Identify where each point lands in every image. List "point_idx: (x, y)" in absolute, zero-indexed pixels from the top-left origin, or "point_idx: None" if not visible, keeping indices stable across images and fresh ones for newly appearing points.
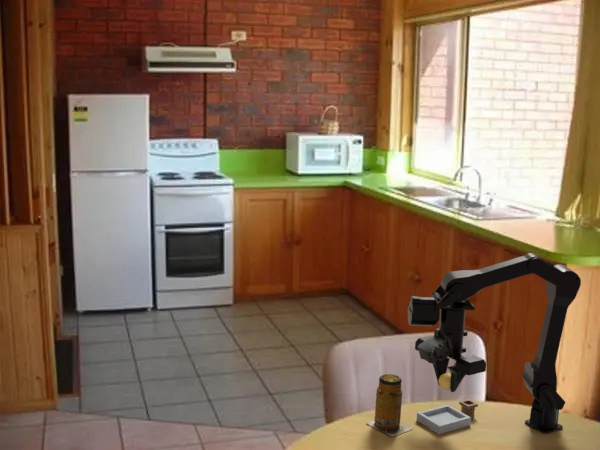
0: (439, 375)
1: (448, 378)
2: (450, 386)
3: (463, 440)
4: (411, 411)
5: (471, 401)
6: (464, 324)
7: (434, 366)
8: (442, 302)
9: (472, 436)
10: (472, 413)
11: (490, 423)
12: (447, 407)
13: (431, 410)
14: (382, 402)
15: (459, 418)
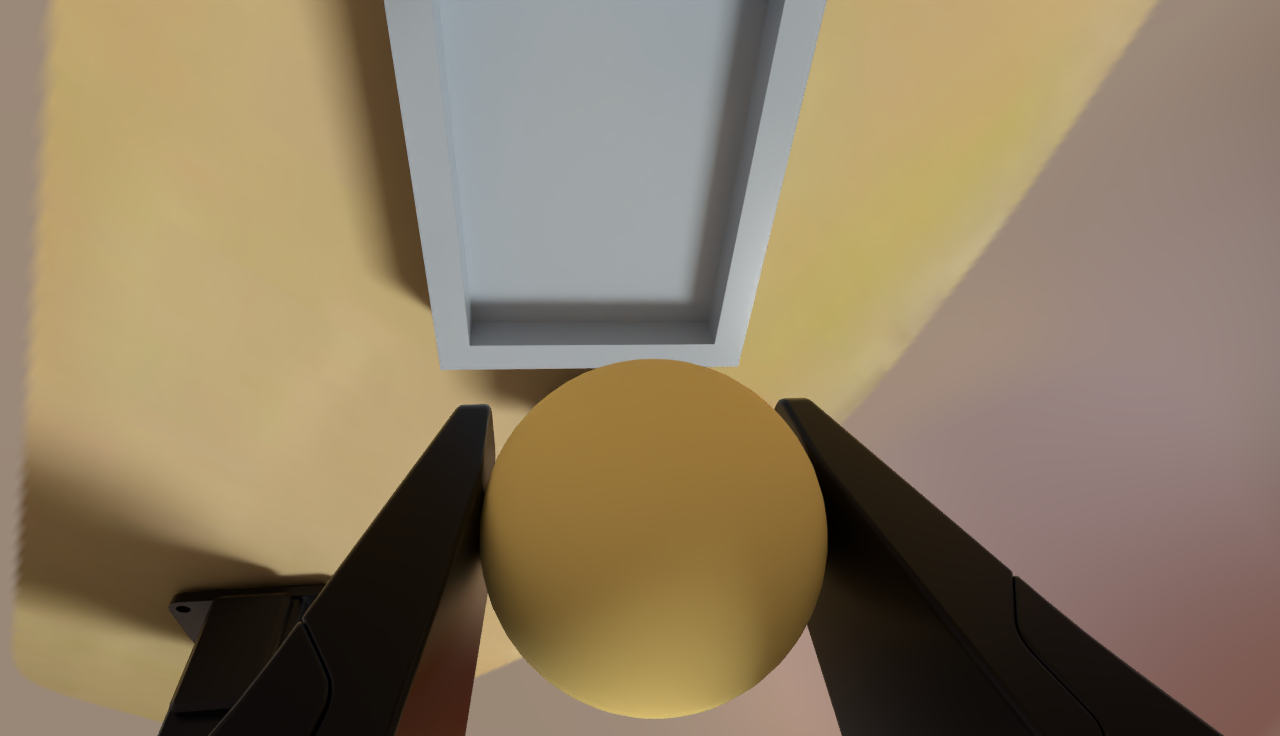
0: (860, 549)
1: (552, 605)
2: (476, 469)
3: (165, 50)
4: (962, 50)
5: None
6: None
7: (1125, 706)
8: None
9: (242, 201)
10: None
11: (418, 448)
12: (713, 336)
13: (757, 155)
14: None
15: (533, 305)
